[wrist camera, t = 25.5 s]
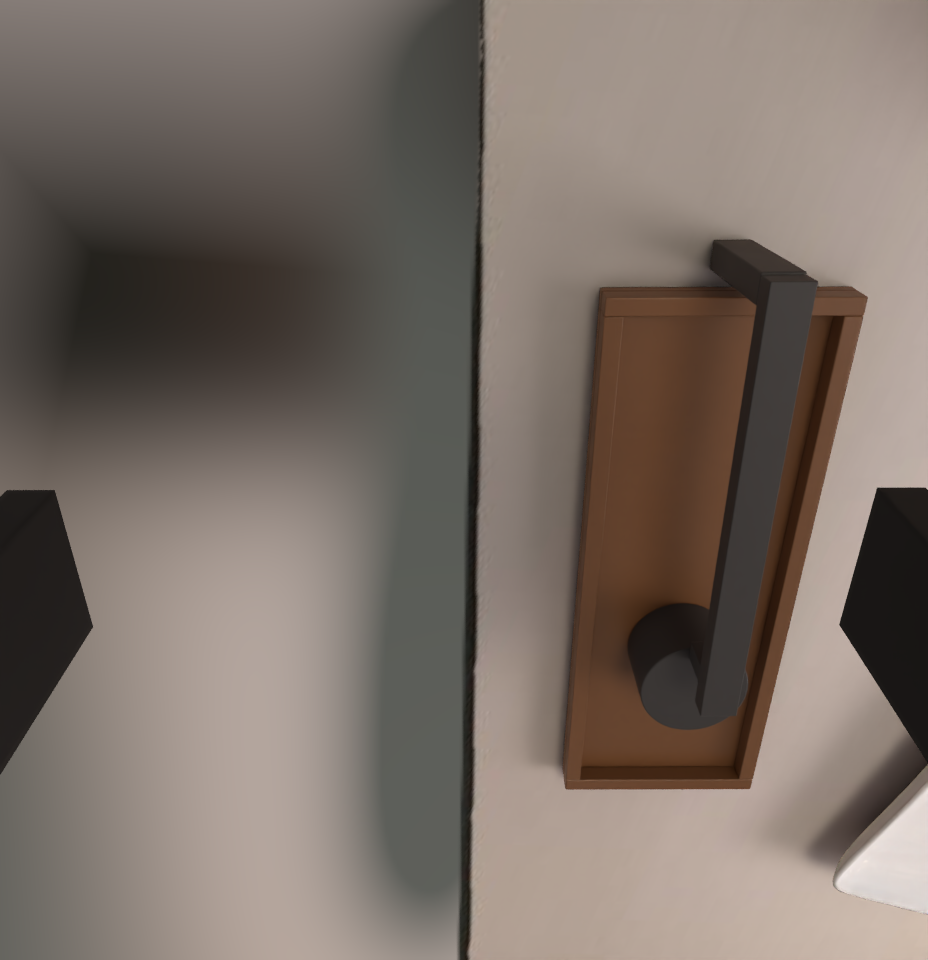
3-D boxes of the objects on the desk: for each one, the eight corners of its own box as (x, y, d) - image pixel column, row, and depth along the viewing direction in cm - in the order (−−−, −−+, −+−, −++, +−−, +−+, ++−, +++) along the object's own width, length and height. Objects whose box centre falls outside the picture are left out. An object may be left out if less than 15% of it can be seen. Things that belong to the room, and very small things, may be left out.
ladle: (720, 681, 44) (762, 784, 37) (623, 682, 44) (650, 784, 37) (796, 239, 33) (874, 277, 27) (668, 239, 33) (717, 279, 27)
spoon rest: (599, 287, 34) (605, 297, 33) (851, 286, 34) (868, 296, 33) (562, 767, 48) (565, 790, 46) (741, 767, 48) (750, 789, 46)
